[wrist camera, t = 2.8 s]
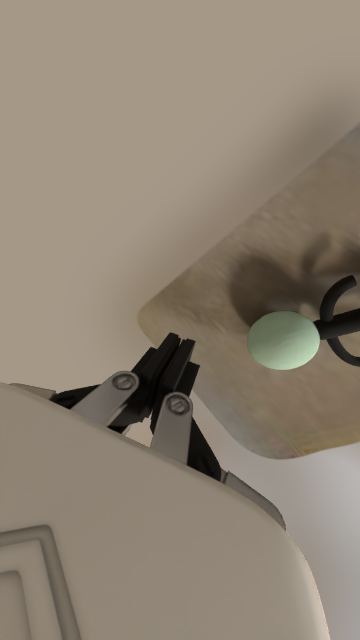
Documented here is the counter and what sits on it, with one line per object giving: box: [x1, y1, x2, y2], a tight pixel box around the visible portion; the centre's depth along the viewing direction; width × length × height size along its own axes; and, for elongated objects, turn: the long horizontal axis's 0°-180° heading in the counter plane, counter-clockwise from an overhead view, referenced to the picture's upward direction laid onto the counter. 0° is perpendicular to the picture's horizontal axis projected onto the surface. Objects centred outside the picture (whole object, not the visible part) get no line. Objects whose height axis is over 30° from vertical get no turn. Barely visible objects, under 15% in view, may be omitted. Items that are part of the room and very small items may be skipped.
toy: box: [247, 275, 360, 370], centre depth 20 cm, size 10×6×15 cm
